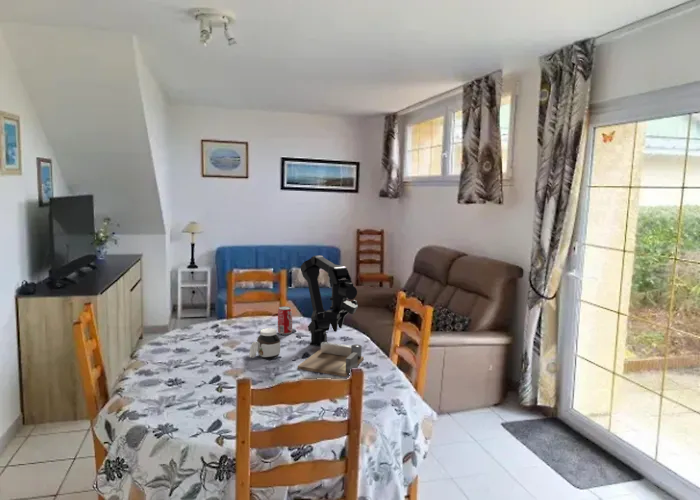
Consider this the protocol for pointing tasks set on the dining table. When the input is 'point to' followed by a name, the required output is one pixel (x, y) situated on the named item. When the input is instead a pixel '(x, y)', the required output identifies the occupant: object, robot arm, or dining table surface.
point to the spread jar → (266, 345)
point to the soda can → (284, 320)
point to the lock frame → (331, 363)
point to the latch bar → (341, 349)
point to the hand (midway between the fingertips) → (337, 329)
